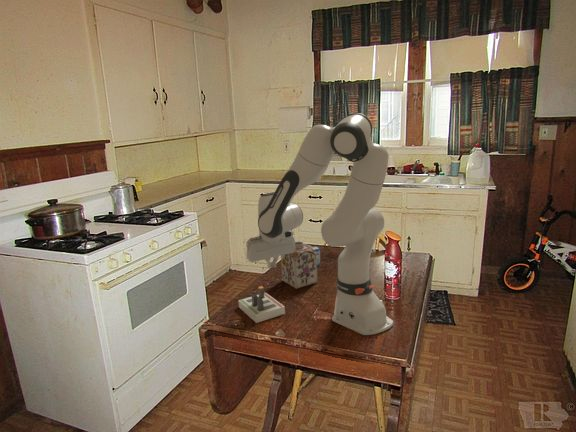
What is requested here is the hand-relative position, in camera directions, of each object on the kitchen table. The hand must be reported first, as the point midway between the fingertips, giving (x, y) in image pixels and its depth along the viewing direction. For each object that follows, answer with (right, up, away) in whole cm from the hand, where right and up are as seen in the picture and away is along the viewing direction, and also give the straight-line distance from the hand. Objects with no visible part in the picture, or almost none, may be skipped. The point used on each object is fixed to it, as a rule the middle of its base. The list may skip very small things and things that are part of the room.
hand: (271, 267), depth 165 cm
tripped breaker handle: (-4, -12, 0) cm, 13 cm away
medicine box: (+18, -4, +39) cm, 43 cm away
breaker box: (-4, -16, -5) cm, 17 cm away
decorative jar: (+11, -9, +21) cm, 25 cm away
